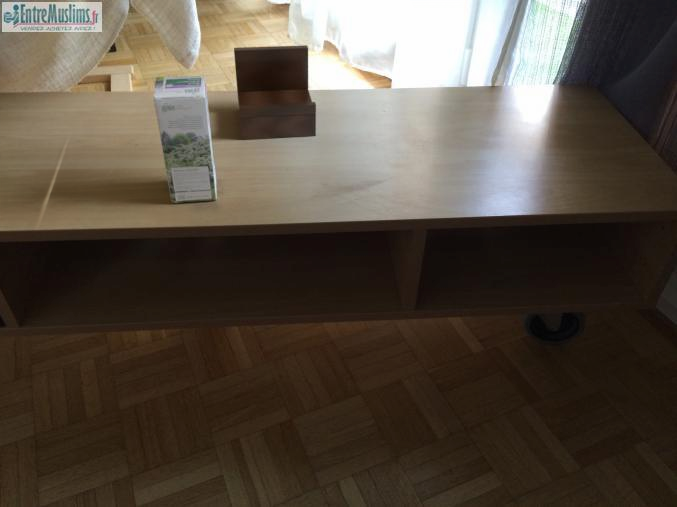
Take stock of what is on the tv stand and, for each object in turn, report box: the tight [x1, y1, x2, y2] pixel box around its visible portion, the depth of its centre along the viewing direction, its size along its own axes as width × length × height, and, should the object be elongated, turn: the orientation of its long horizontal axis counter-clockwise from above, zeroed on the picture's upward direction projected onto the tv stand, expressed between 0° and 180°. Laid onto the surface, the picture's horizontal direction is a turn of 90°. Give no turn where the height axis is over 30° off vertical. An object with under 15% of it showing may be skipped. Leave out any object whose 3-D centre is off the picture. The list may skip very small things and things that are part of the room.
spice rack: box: [233, 44, 317, 141], centre depth 91 cm, size 11×10×10 cm
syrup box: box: [152, 75, 218, 204], centre depth 74 cm, size 6×6×14 cm
